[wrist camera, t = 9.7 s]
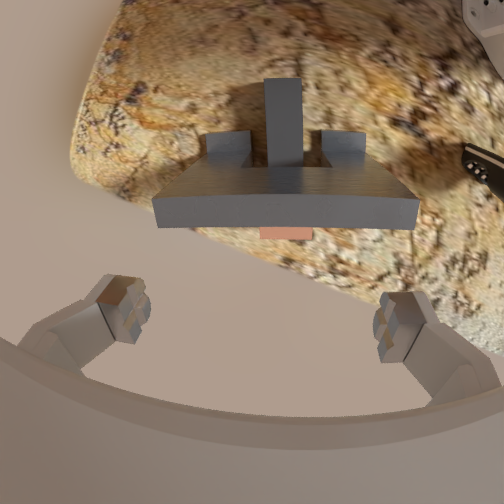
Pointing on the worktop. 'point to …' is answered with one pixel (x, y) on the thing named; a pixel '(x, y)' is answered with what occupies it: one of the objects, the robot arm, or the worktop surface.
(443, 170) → the worktop surface
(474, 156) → the battery charger
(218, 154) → the grey arch stand
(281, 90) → the plug
